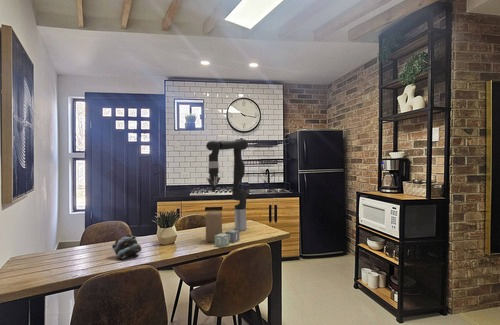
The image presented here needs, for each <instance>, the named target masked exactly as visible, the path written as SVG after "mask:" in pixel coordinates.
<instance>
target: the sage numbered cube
mask: <svg viewBox="0 0 500 325" xmlns="http://www.w3.org/2000/svg"><path fill="white" fill-rule="evenodd" d="M214 246H215V247H220V248H224V247H227V246H230V242H229V234H226V233H223V232H222V233H220V234H217V235H215V242H214Z"/></svg>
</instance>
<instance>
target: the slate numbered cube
mask: <svg viewBox="0 0 500 325" xmlns="http://www.w3.org/2000/svg"><path fill="white" fill-rule="evenodd" d="M225 234H229V243H233V244H235V243H236V242H240V231H237V230H235V229H229V230H227V231H225Z"/></svg>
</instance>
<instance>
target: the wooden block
mask: <svg viewBox="0 0 500 325" xmlns="http://www.w3.org/2000/svg"><path fill="white" fill-rule="evenodd" d="M222 216H223V214H222V212H221V211H209V212H207V213H206V214H205V241H206V243H215V235H217V234H220V233H223V217H222Z"/></svg>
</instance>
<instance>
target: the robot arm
mask: <svg viewBox="0 0 500 325" xmlns="http://www.w3.org/2000/svg"><path fill="white" fill-rule="evenodd" d="M205 146H206V149H207V150H208V151H211V153H210V154H208V174H209V176H208V178H207V180H206V181H207V182H208V185H210V186H211V190H212V191H216V190H217V185H218V184H219V181H220V180H221V177H219V173H220V170H219V154H220V151H224V150H233V180H232V181H233V184H232V194H231V195H232V196H231V197H232V200H233V201H239V203H238V204H235V205H234V230H237V231H239V232H240V231H241V232H242V231H247V226H248V225H247V214H246V212H247V211H246V210H247V209H246V208H247V191H246V190H245V189H240V183H241V182H242V179H244V176H245V175H246V174H245V173H246V172H245V171H246V166H245V163H244V160H243V158H242V154H241V151H244V150H246V149H247V148H248V146H249V141H248V140H246V139H244V138H238V139H235V140H212V141H211V140H209V141H208V142H207V143H206V145H205Z"/></svg>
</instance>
